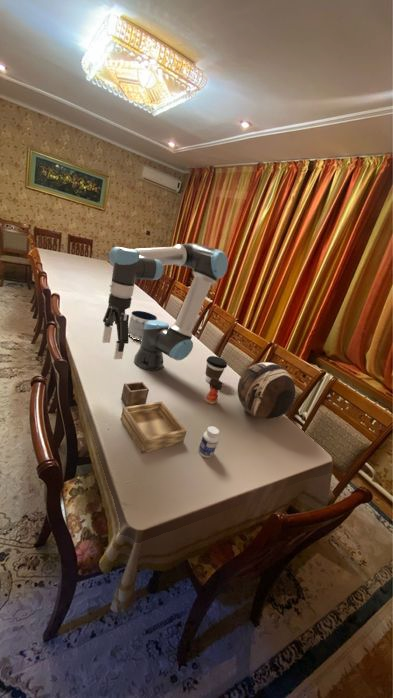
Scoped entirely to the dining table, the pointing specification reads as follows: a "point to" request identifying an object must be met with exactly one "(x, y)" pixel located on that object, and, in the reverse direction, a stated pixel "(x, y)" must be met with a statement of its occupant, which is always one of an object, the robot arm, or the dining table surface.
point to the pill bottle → (209, 442)
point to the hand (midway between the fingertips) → (111, 350)
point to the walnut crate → (134, 394)
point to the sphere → (266, 390)
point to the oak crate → (152, 426)
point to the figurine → (213, 390)
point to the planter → (139, 323)
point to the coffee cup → (214, 367)
